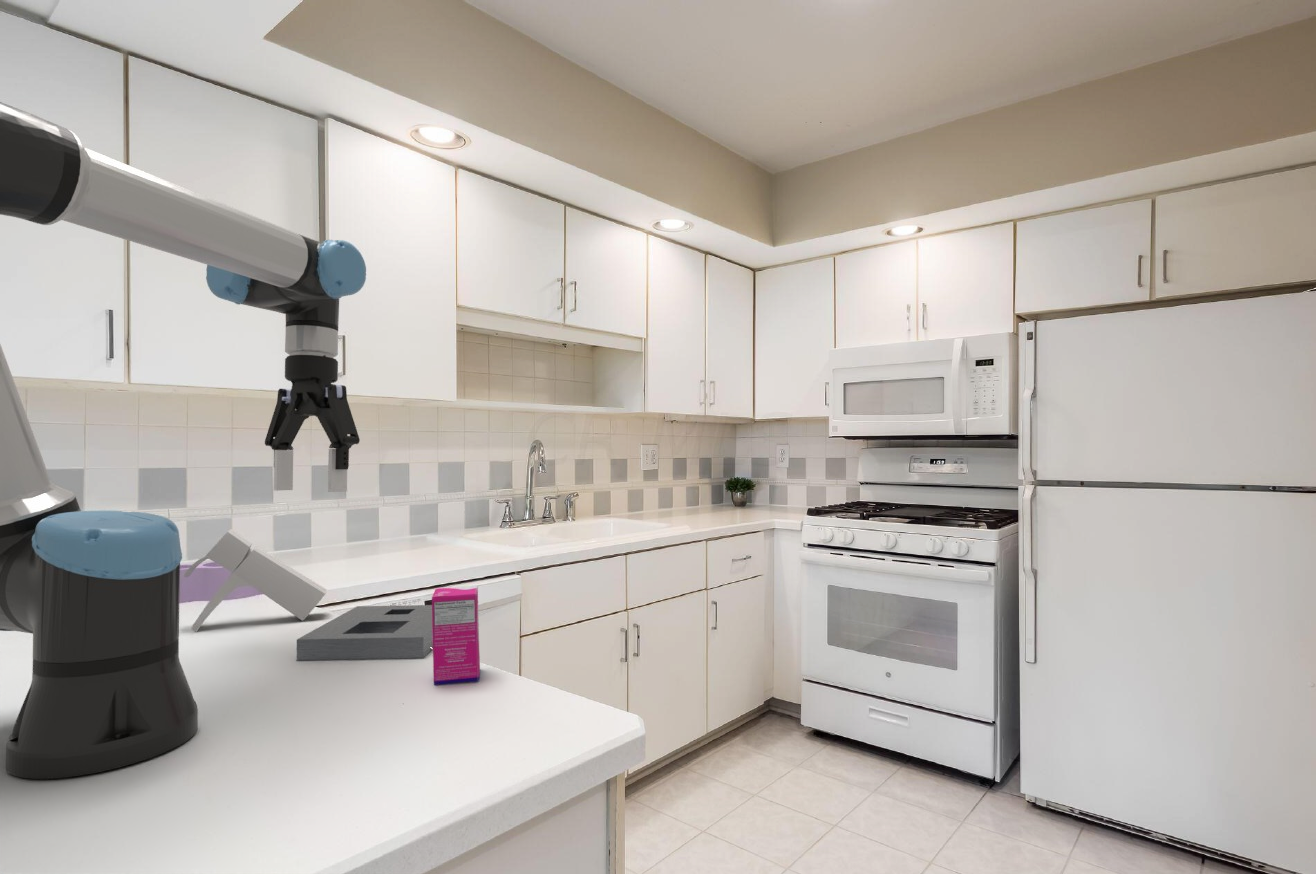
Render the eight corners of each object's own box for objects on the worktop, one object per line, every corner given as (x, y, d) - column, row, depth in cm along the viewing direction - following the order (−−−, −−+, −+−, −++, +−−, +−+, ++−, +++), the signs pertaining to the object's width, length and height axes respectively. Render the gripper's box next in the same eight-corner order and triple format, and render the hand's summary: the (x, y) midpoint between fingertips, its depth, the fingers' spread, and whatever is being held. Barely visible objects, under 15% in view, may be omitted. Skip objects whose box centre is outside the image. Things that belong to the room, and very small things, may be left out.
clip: (155, 608, 136) (155, 573, 136) (158, 597, 146) (158, 565, 146) (271, 596, 147) (271, 563, 147) (266, 587, 157) (266, 556, 157)
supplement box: (435, 672, 93) (435, 587, 94) (480, 668, 95) (480, 584, 95) (431, 686, 88) (431, 595, 88) (479, 682, 89) (479, 592, 89)
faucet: (326, 593, 124) (226, 527, 118) (260, 672, 120) (151, 607, 113) (326, 587, 130) (230, 524, 124) (263, 662, 125) (160, 600, 119)
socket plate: (423, 658, 100) (423, 637, 100) (296, 660, 99) (296, 639, 99) (460, 621, 122) (460, 604, 122) (357, 623, 121) (357, 606, 121)
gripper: (385, 353, 107) (383, 491, 106) (286, 365, 119) (284, 489, 118) (342, 346, 100) (339, 493, 99) (242, 359, 112) (239, 490, 111)
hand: (309, 491), depth 109 cm, fingers open, 13 cm apart
